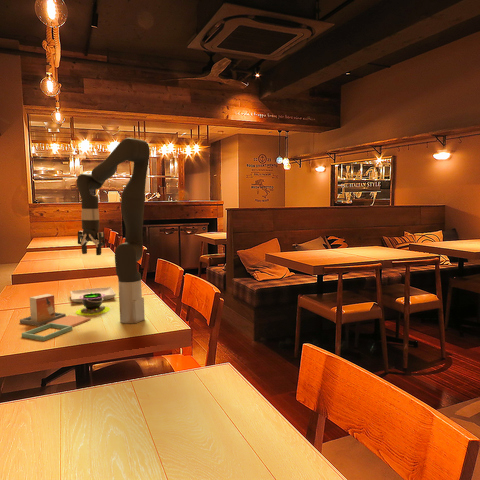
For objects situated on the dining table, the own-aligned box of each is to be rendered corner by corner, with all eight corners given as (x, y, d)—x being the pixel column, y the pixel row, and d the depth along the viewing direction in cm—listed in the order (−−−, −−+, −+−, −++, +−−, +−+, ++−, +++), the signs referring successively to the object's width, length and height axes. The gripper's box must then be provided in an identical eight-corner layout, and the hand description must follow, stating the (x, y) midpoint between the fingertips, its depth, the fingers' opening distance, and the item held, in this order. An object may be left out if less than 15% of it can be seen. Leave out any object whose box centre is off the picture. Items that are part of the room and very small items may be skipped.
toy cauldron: (99, 316, 176) (97, 292, 175) (68, 315, 179) (67, 290, 178) (116, 307, 191) (115, 284, 190) (87, 306, 194) (86, 283, 193)
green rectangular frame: (72, 329, 158) (72, 326, 158) (44, 340, 146) (43, 336, 146) (51, 326, 163) (50, 322, 163) (21, 337, 151) (21, 333, 150)
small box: (37, 323, 167) (35, 298, 166) (30, 321, 170) (29, 297, 169) (55, 319, 173) (54, 295, 172) (49, 316, 177) (47, 293, 175)
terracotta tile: (90, 319, 171) (90, 318, 171) (68, 328, 160) (68, 326, 160) (69, 316, 176) (69, 315, 176) (46, 324, 165) (46, 323, 165)
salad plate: (70, 296, 215) (69, 290, 214) (111, 292, 224) (111, 286, 223) (71, 305, 196) (71, 299, 195) (116, 300, 205) (116, 294, 204)
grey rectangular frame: (65, 317, 176) (65, 313, 175) (39, 326, 163) (39, 322, 163) (46, 314, 180) (46, 311, 180) (19, 323, 168) (19, 319, 168)
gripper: (108, 218, 181) (109, 254, 183) (85, 217, 187) (86, 252, 189) (96, 219, 174) (97, 256, 176) (72, 218, 180) (73, 254, 182)
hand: (91, 254), depth 182 cm, fingers open, 8 cm apart
